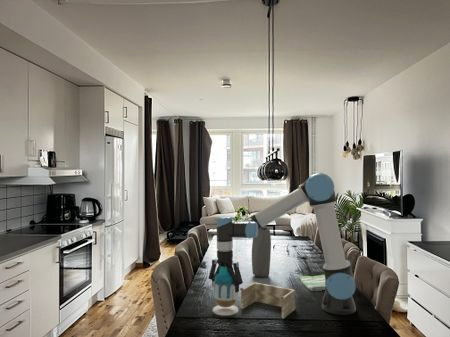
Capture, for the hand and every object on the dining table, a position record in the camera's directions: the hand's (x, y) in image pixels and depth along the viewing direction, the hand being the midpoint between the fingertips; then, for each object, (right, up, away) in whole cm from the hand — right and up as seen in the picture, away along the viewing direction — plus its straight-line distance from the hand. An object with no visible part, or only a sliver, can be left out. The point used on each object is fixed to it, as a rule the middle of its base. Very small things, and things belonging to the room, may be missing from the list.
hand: (225, 296), depth 163 cm
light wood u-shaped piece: (+20, -6, +1) cm, 21 cm away
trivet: (0, -6, 0) cm, 6 cm away
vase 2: (+23, -7, +55) cm, 60 cm away
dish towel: (+54, -7, +37) cm, 66 cm away
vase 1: (0, -5, 0) cm, 5 cm away
